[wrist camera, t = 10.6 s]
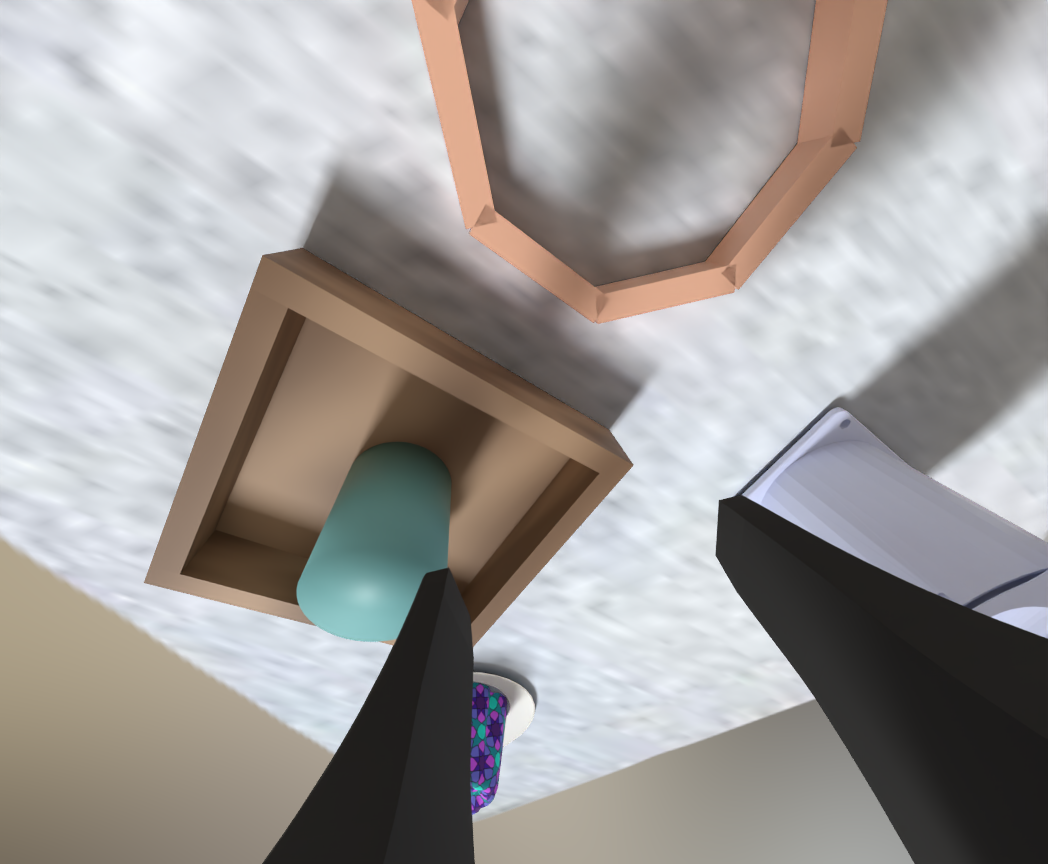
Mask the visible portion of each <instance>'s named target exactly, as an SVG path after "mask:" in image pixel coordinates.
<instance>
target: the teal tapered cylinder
mask: <svg viewBox="0 0 1048 864" xmlns="http://www.w3.org/2000/svg"><path fill="white" fill-rule="evenodd" d="M451 485H452V483H451V477H450V473H449V471H448V469H447V467H446V465H445V464H444V463H443V461H442V460H441V459H440V458H439V457H438V456H437V455H436V454H434V453H433V452H431V451H430V450H428V449H426V448H424V447H421V446H419V445H416V444H412V443H407V442H388V443H382V444H379V445H376V446H373V447H371V448H369V449H367V450H366V451H364V452H363V453H362V454H360V455H359V456H358V457H357V458H356V459H355V461H354V462H353V464H352V466H351V468H350V470H349V472H348V474H347V477H346V479H345V481H344V483H343V485H342V488H341V490H340V492H339V494H338V496H337V498H336V501H335V503H334V505H333V507H332V509H331V512H330V514H329V516H328V518H327V520H326V522H325V525H324V527H323V529H322V531H321V533H320V536H319V538H318V540H317V542H316V544H315V546H314V549H313V551H312V553H311V555H310V557H309V559H308V562H307V564H306V566H305V568H304V570H303V573H302V575H301V577H300V579H299V581H298V585H297V600H298V603H299V606H300V608H301V610H302V611H303V613H304V614H305V616H306V617H307V618H308V619H309V620H310V621H311V622H312V623H314V624H315V625H316V626H318V627H319V628H321V629H323V630H324V631H326V632H328V633H331V634H333V635H336V636H339V637H342V638H345V639H350V640H356V641H366V642H378V641H389V640H394V639H397V637H398V635H399V633H400V630H401V628H402V626H403V624H404V621H405V619H406V617H407V615H408V612H409V610H410V608H411V605H412V603H413V601H414V598H415V596H416V593H417V591H418V589H419V586H420V584H421V581H422V579H423V577H424V575H425V574H426V573H428V572H432V571H436V570H440V569H444V568H447V564H448V544H449V525H450V505H451Z"/></svg>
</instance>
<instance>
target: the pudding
mask: <svg viewBox="0 0 1048 864" xmlns="http://www.w3.org/2000/svg"><path fill="white" fill-rule="evenodd" d="M473 682H479V683H473V699H472V731H471V804H472V815H473V814H475V813H477V812H478V811H479V810H480V808H482V807H485V806H487V805H489V804H490V803H491V802H492V801H493V799H494V797H495V794H496V791H497V788H498V781H499V773H500V765H501V756H502V748H503V747H504V746H506V745H508V744H509V743H511V742H512V741H514V740H515V739H517V738H518V737H519V736H520V735H521V734H523V732H524V731H525V730H526V729H527V728H528V727H529V725H530V723H531V722H532V720H533V717H534V713H535V703H534V701H533V698H532V696H531V695H530V694H529V692H528V691H527V690H526V689H525V688H523V687H522V686H521V685H519V684H518V683H516V682H514V681H512V680H510V679H507V678H504V677H501V676H497V675H493V674H487V673H480V672H473ZM481 683H483V684H481ZM484 684H487V685H490V686H492V687H495V688H497V689H498V690H500V691H501V692H503V693H504V694H505V696H506V697H507V698H508V701H509V704H510V709H509V713H508V715H507V713H506V709H507V699H506V697H505V696H504V695H502V694H501V693H493V692H491V691H490V689H489V686H486V685H484ZM506 715H507V717H506Z"/></svg>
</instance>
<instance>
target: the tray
mask: <svg viewBox="0 0 1048 864" xmlns="http://www.w3.org/2000/svg"><path fill="white" fill-rule="evenodd" d="M388 442H407V443H412V444H416V445H419V446H421V447H424V448H426V449H428V450H430V451H431V452H433V453H434V454H436V455H437V456H438V457H439V458H440V459H441V460H442V461H443V463H444V464H445V465H446V467H447V469H448V471H449V473H450V477H451V483H452V485H451V505H450V525H449V544H448V564H447V568H448V567H449V568H450V571H451V573H452V575H453V578H454V580H455V582H456V584H457V587H458V589H459V591H460V594H461V596H462V598H463V601H464V603H465V605H466V607H467V610H468V612H469V614H470V618H471V630H472V642H473V647H474V645H475V644H476V643H477V642H478V641H479V640H480V639H481V637H482V636H483V635H484V634H485V633H486V632H487V631H488V630H489V628H490V627H491V626H492V625H493V624H494V623H495V622H496V620H497V619H498V618H499V617H500V616H501V615H502V614H503V613H504V611H505V610H506V609H507V608H508V607H509V606H510V605H511V603H512V602H513V601H514V600H515V599H516V598H517V597H518V596H519V594H520V593H521V592H522V591H523V590H524V589H525V588H526V586H527V585H528V584H529V583H530V582H531V581H532V580H533V579H534V577H535V576H536V575H537V574H538V573H539V572H540V571H541V569H542V568H543V567H544V566H545V565H546V564H547V563H548V562H549V560H550V559H551V558H552V557H553V556H554V555H555V554H556V552H557V551H558V550H559V549H560V548H561V547H562V546H563V545H564V543H565V542H566V541H567V540H568V539H569V538H570V537H571V535H572V534H573V533H574V532H575V531H576V530H577V529H578V528H579V526H580V525H581V524H582V523H583V522H584V521H585V520H586V518H587V517H588V516H589V515H590V514H591V513H592V512H593V511H594V509H595V508H596V507H597V506H598V505H599V504H600V503H601V501H602V500H603V499H604V498H605V497H606V496H607V495H608V494H609V492H610V491H611V490H612V489H613V488H614V487H615V486H616V484H617V483H618V482H619V481H620V480H621V479H622V478H623V477H624V475H625V474H626V473H627V472H628V471H629V470H630V469H631V467H632V466H633V464H632V462H631V461H630V459H629V458H628V456H627V455H626V453H625V452H624V451H623V449H622V448H621V446H620V445H619V443H618V442H617V440H616V439H615V437H614V436H613V435H612V433H611V432H610V430H609V429H607V428H605V427H603V426H602V425H600V424H598V423H597V422H595V421H593V420H592V419H590V418H588V417H587V416H585V415H583V414H582V413H580V412H578V411H576V410H575V409H573V408H571V407H570V406H568V405H566V404H565V403H563V402H561V401H560V400H558V399H556V398H555V397H553V396H551V395H549V394H548V393H546V392H544V391H543V390H541V389H539V388H538V387H536V386H534V385H533V384H531V383H529V382H528V381H526V380H524V379H523V378H521V377H519V376H517V375H516V374H514V373H512V372H511V371H509V370H507V369H506V368H504V367H502V366H501V365H499V364H497V363H496V362H494V361H492V360H490V359H489V358H487V357H485V356H484V355H482V354H480V353H479V352H477V351H475V350H474V349H472V348H470V347H469V346H467V345H465V344H463V343H462V342H460V341H458V340H457V339H455V338H453V337H452V336H450V335H448V334H447V333H445V332H443V331H442V330H440V329H438V328H437V327H435V326H433V325H431V324H430V323H428V322H426V321H425V320H423V319H421V318H420V317H418V316H416V315H415V314H413V313H411V312H410V311H408V310H406V309H404V308H403V307H401V306H399V305H398V304H396V303H394V302H393V301H391V300H389V299H388V298H386V297H384V296H383V295H381V294H379V293H377V292H376V291H374V290H372V289H371V288H369V287H367V286H366V285H364V284H362V283H361V282H359V281H357V280H356V279H354V278H352V277H351V276H349V275H347V274H345V273H344V272H342V271H340V270H339V269H337V268H335V267H334V266H332V265H330V264H329V263H327V262H325V261H324V260H322V259H320V258H318V257H317V256H315V255H313V254H312V253H310V252H308V251H307V250H305V249H303V248H300V249H294V250H289V251H283V252H278V253H272V254H267V255H262V258H261V261H260V264H259V266H258V269H257V272H256V275H255V277H254V280H253V283H252V286H251V288H250V291H249V294H248V297H247V299H246V302H245V305H244V308H243V311H242V313H241V316H240V319H239V322H238V324H237V327H236V330H235V333H234V335H233V338H232V341H231V344H230V346H229V349H228V352H227V355H226V357H225V360H224V363H223V366H222V369H221V371H220V374H219V377H218V380H217V382H216V385H215V388H214V391H213V393H212V396H211V399H210V402H209V404H208V407H207V410H206V413H205V415H204V418H203V421H202V424H201V426H200V429H199V432H198V435H197V438H196V440H195V443H194V446H193V449H192V451H191V454H190V457H189V460H188V462H187V465H186V468H185V471H184V473H183V476H182V479H181V482H180V484H179V487H178V490H177V493H176V496H175V498H174V501H173V504H172V507H171V509H170V512H169V515H168V518H167V520H166V523H165V526H164V529H163V531H162V534H161V537H160V540H159V542H158V545H157V548H156V551H155V553H154V556H153V559H152V562H151V565H150V567H149V570H148V573H147V576H146V578H145V581H144V583H147V584H151V585H155V586H159V587H163V588H167V589H171V590H174V591H178V592H182V593H186V594H190V595H194V596H198V597H202V598H206V599H210V600H214V601H218V602H222V603H226V604H230V605H234V606H238V607H242V608H246V609H250V610H254V611H258V612H262V613H266V614H270V615H274V616H278V617H282V618H286V619H290V620H294V621H298V622H302V623H306V624H310V625H314V626H316V625H315V624H314V623H312V622H311V621H310V620H309V619H308V618H307V617H306V616H305V614H304V613H303V611H302V610H301V608H300V606H299V603H298V600H297V585H298V581H299V579H300V577H301V575H302V573H303V570H304V568H305V566H306V564H307V562H308V559H309V557H310V555H311V553H312V551H313V549H314V546H315V544H316V542H317V540H318V538H319V536H320V533H321V531H322V529H323V527H324V525H325V522H326V520H327V518H328V516H329V514H330V512H331V509H332V507H333V505H334V503H335V501H336V498H337V496H338V494H339V492H340V490H341V488H342V485H343V483H344V481H345V479H346V477H347V474H348V472H349V470H350V468H351V466H352V464H353V462H354V461H355V459H356V458H357V457H358V456H359V455H360V454H362V453H363V452H364V451H366V450H367V449H369V448H371V447H373V446H376V445H379V444H382V443H388ZM395 641H396V639H394V640H389V641H378V642H382V643H386V644H390V645H394V643H395Z"/></svg>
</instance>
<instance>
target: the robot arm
mask: <svg viewBox="0 0 1048 864" xmlns="http://www.w3.org/2000/svg"><path fill="white" fill-rule="evenodd" d="M716 557H717V559H718V560H719V562H720V564H721V566H722V567H723V569H724V571H725V573H726V574H727V576H728V578H729V579H730V581H731V583H732V584H733V586H734V588H735V589H736V591H737V593H738V594H739V595H740V597H741V598H742V599H743V601H744V602H745V604H746V605H747V606H748V608H749V609H750V610H751V612H752V613H753V614H754V616H755V617H756V618H757V620H758V621H759V622H760V624H761V625H762V626H763V628H764V629H765V630H766V632H767V633H768V634H769V636H770V637H771V638H772V640H773V641H774V642H775V644H776V645H777V646H778V648H779V649H780V650H781V652H782V653H783V654H784V656H785V657H786V658H787V660H788V661H789V662H790V664H791V665H792V666H793V668H794V669H795V670H796V672H797V673H798V674H799V676H800V677H801V678H802V680H803V681H804V683H805V684H806V685H807V687H808V688H809V690H810V691H811V693H812V694H813V695H814V697H815V698H816V700H817V702H818V703H819V705H820V706H821V708H822V709H823V711H824V713H825V714H826V716H827V717H828V719H829V720H830V722H831V724H832V725H833V727H834V728H835V730H836V731H837V733H838V735H839V736H840V738H841V740H842V741H843V743H844V744H845V746H846V748H847V749H848V751H849V752H850V754H851V756H852V758H853V759H854V761H855V762H856V764H857V765H858V767H859V769H860V771H861V772H862V774H863V776H864V777H865V779H866V781H867V782H868V784H869V786H870V787H871V789H872V791H873V792H874V794H875V796H876V797H877V799H878V801H879V802H880V804H881V806H882V808H883V809H884V811H885V813H886V815H887V816H888V818H889V820H890V822H891V823H892V825H893V827H894V829H895V830H896V832H897V834H898V835H899V837H900V839H901V840H902V842H903V844H904V846H905V847H906V849H907V851H908V853H909V854H910V856H911V858H912V860H913V861H914V863H915V864H1048V543H1047V542H1045V541H1044V540H1042V539H1040V538H1038V537H1036V536H1035V535H1033V534H1031V533H1029V532H1027V531H1026V530H1024V529H1022V528H1020V527H1018V526H1017V525H1015V524H1013V523H1011V522H1009V521H1008V520H1006V519H1004V518H1002V517H1000V516H999V515H997V514H995V513H993V512H991V511H990V510H988V509H986V508H984V507H982V506H981V505H979V504H977V503H975V502H973V501H972V500H970V499H968V498H966V497H964V496H963V495H961V494H959V493H957V492H955V491H954V490H952V489H950V488H948V487H946V486H944V485H943V484H941V483H939V482H937V481H935V480H934V479H932V478H930V477H928V476H926V475H925V474H923V473H921V472H919V471H917V470H916V469H914V468H912V467H910V466H909V465H908V464H907V463H906V462H904V461H903V460H902V459H901V458H900V457H899V456H898V455H897V454H895V453H894V452H893V451H892V450H891V449H890V448H889V447H888V446H886V445H885V444H884V443H883V442H882V441H881V440H880V439H878V438H877V437H876V436H875V435H874V434H873V433H872V432H871V431H869V430H868V429H867V428H866V427H865V426H864V425H863V424H862V423H860V422H859V421H858V420H857V419H856V418H855V417H854V416H853V415H851V414H850V413H849V412H848V411H846V410H844V409H842V408H840V407H837V408H834V409H832V410H830V411H829V412H828V413H827V414H826V415H825V416H824V417H822V418H821V419H820V420H819V421H818V422H817V423H816V424H815V425H814V426H813V427H812V428H811V429H810V430H809V431H808V432H807V433H806V434H805V435H804V436H803V437H802V438H801V439H800V440H798V441H797V442H796V443H795V444H794V445H793V446H792V447H791V448H790V449H789V450H788V451H787V452H786V453H785V454H784V455H783V456H782V457H781V458H780V459H779V460H778V461H777V462H775V463H774V464H773V465H772V466H771V467H770V468H769V469H768V470H767V471H766V472H765V473H764V474H763V475H762V476H761V477H760V478H759V479H758V480H757V481H756V482H755V483H754V484H753V485H751V486H750V487H749V488H748V489H747V490H746V491H745V492H744V493H743V494H742V495H739V496H735V497H731V498H727V499H723V500H719V509H718V525H717V541H716ZM473 660H474V657H473V642H472V630H471V618H470V614H469V612H468V610H467V607H466V605H465V603H464V601H463V598H462V596H461V594H460V591H459V589H458V587H457V584H456V582H455V580H454V578H453V575H452V573H451V571H450V568H449V567H448V568H444V569H440V570H436V571H432V572H428V573H426V574H425V575H424V577H423V579H422V581H421V584H420V586H419V589H418V591H417V593H416V596H415V598H414V601H413V603H412V605H411V608H410V610H409V612H408V615H407V617H406V619H405V621H404V624H403V626H402V628H401V630H400V633H399V635H398V637H397V639H396V641H395V643H394V645H393V647H392V650H391V652H390V654H389V656H388V658H387V660H386V662H385V664H384V666H383V668H382V670H381V672H380V674H379V676H378V678H377V680H376V682H375V684H374V686H373V687H372V689H371V691H370V693H369V695H368V697H367V699H366V701H365V703H364V705H363V707H362V708H361V710H360V712H359V714H358V716H357V717H356V719H355V721H354V723H353V724H352V726H351V728H350V730H349V731H348V733H347V735H346V737H345V738H344V740H343V742H342V743H341V745H340V747H339V748H338V750H337V752H336V753H335V755H334V757H333V758H332V760H331V762H330V763H329V765H328V766H327V768H326V770H325V771H324V773H323V774H322V776H321V777H320V779H319V780H318V782H317V784H316V785H315V787H314V788H313V790H312V791H311V793H310V795H309V796H308V798H307V799H306V801H305V802H304V804H303V805H302V807H301V808H300V810H299V811H298V813H297V814H296V816H295V818H294V819H293V820H292V822H291V823H290V825H289V826H288V828H287V829H286V831H285V832H284V834H283V835H282V837H281V838H280V839H279V841H278V842H277V844H276V845H275V847H274V848H273V849H272V851H271V852H270V853H269V855H268V856H267V858H266V859H265V861H264V862H263V863H262V864H475V862H474V846H473V845H474V844H473V825H472V804H471V731H472V699H473Z"/></svg>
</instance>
